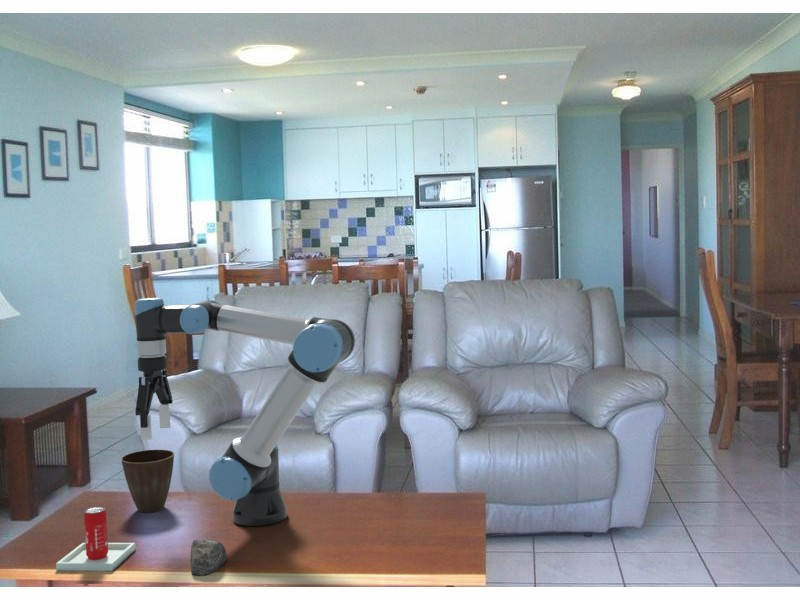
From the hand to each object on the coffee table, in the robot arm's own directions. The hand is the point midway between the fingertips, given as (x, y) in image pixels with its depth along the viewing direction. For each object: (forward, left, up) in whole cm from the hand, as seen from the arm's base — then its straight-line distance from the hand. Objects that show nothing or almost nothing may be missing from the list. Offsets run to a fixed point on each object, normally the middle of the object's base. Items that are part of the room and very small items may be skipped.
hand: (156, 433), depth 233 cm
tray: (+8, +22, -27) cm, 36 cm away
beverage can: (+8, +22, -26) cm, 35 cm away
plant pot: (+10, -18, -27) cm, 34 cm away
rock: (-21, +25, -27) cm, 42 cm away
